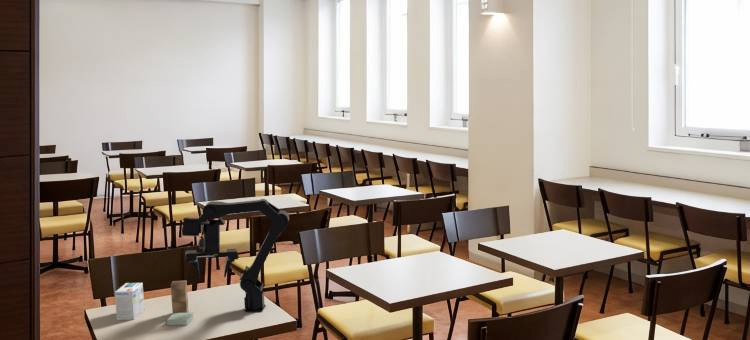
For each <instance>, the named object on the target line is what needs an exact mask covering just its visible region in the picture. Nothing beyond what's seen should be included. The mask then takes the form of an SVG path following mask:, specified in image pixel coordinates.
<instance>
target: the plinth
mask: <svg viewBox="0 0 750 340" xmlns="http://www.w3.org/2000/svg"><path fill="white" fill-rule="evenodd" d="M193 319H194V312H188V313H173V312H172V314H171V315H170V316H169V317H168V318H167V319H166V320H167V321H166V324H167V326H188V325H189V324H190V322H191V321H192V320H193Z"/></svg>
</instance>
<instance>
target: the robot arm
mask: <svg viewBox="0 0 750 340" xmlns="http://www.w3.org/2000/svg"><path fill="white" fill-rule="evenodd" d="M254 212H261V213H262V214H263V215H264V216H265V217H267V219H268V220H270V221H271V224H270V228H269V230H268V233H267V235H266V237H265V239H264V241H263V243H262V245H261V246H260V248H259V250H258V252H257V254H256V256H255V259H254V260H253V262H252V263H251V265H250V266H248V265H246V266H245V267H244V271H243V272H242V273H241V274H240V277H239V281H240V282H239V286H240V288H241V289H242V291H244V293H245V296H244V298H243V299H244V301H243V302H244V308H245V310H244V311H245V312H263V310H265V308H266V307H267V306H266V304H265V291H263V288H264V287H263V286H264V282H261V280H259V276H260V272H261V270H262V269H263V267H264V264H265V262H266V261H267V259H268V256H269V255H270V253H271V250H272V249H273V247H274V244H275V243H276V242H277V239H278V237H280V236H281V235H282V233H283V231H284V230H285V229H286V228H287V227H288V224H289V223H290V222H289V220H290V215H289V213H288V212H287V211H286V210H281V209H279V208H278V207H277V206H275V205H274V204H272V203H270V201H268V200H267V199H265V198H261V199H256V200H255V199H254V200H246V201H237V202H224V201H217V200H216V201H215V200H212V201H208V202H207V203H206V204H205V205H204V207H203V208H202V214H200V215H199V217H188V216H187V217H184V218H182V219H183V221H182V227H181V234H182V237H199V236H200V234H203V238H202V239H199V240H198V241H199V242H198V243H199V249H202V250H203V252H197V249H196V250H194V249H191V250H186V251H185V258H184V259H185V262H189V263H188V264H192V266H193V268H194V270H195V273H196V275H197V277H198V279H200V278H201V276H200V275H201V274H200V269H199V260H198V259H205V258H209V259H211V258H225V261H224V262H225V263H224V270H223V278H226V277H227V274H228V271H229V270H230V268H231V265H232V263H233V262H235V261H236V260H239V251H238V249H237V248H226V251H221V250H220V249H221V248H220V247H221V244H220V243H221V241H220V240H221V235H220V234H221V230H220V229H221V228H220V226H224V225H225V224H226V221H225V220H224V219H223V218H222V217H224V216H229V215H235V214H242V213H243V214H245V213H254ZM208 220H209V221H208Z"/></svg>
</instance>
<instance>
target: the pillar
mask: <svg viewBox="0 0 750 340" xmlns="http://www.w3.org/2000/svg"><path fill="white" fill-rule="evenodd" d="M187 282H188V281H187V280H186V279H185V280H173V281H171V284H170V296H171V308H172V309H171V310H172V312H171V313H172V314H173V313H190V312H189V297H188V284H187Z"/></svg>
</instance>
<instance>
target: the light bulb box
mask: <svg viewBox="0 0 750 340" xmlns="http://www.w3.org/2000/svg"><path fill="white" fill-rule="evenodd" d="M143 285H144V284H143V282H125V283H124V284H123V285H121V286H120V287H119V288H118V289H117V290H115V291H114V299H115V300H114V301H115V314H116V321H121V320H122V321H126V320H127V321H128V320H129V321H130V320H131V321H134V320H135V319H136V318H137V317H138V316H139V315H141V314H142V313H143V312H144V311H145V298H144V286H143Z"/></svg>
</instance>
